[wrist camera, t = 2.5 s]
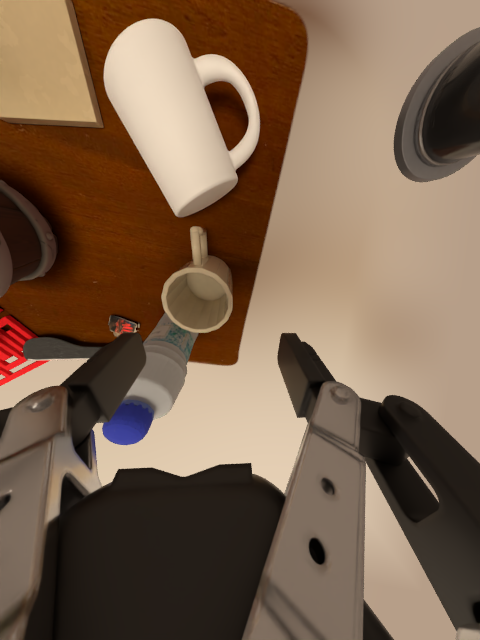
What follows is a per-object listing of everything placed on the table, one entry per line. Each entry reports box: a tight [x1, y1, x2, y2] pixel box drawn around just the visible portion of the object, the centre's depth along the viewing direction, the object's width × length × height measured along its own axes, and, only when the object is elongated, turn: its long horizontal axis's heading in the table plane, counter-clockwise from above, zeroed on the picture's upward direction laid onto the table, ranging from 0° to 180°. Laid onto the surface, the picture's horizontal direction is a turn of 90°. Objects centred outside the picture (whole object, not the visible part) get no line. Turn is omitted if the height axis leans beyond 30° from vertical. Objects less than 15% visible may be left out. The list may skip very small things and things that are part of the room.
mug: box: [104, 19, 260, 217], centre depth 17 cm, size 12×10×8 cm
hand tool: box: [23, 337, 102, 361], centre depth 31 cm, size 6×3×25 cm
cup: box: [161, 226, 232, 333], centre depth 22 cm, size 11×8×10 cm
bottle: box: [102, 313, 198, 445], centre depth 22 cm, size 7×7×20 cm
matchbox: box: [108, 315, 140, 337], centre depth 30 cm, size 5×5×1 cm
